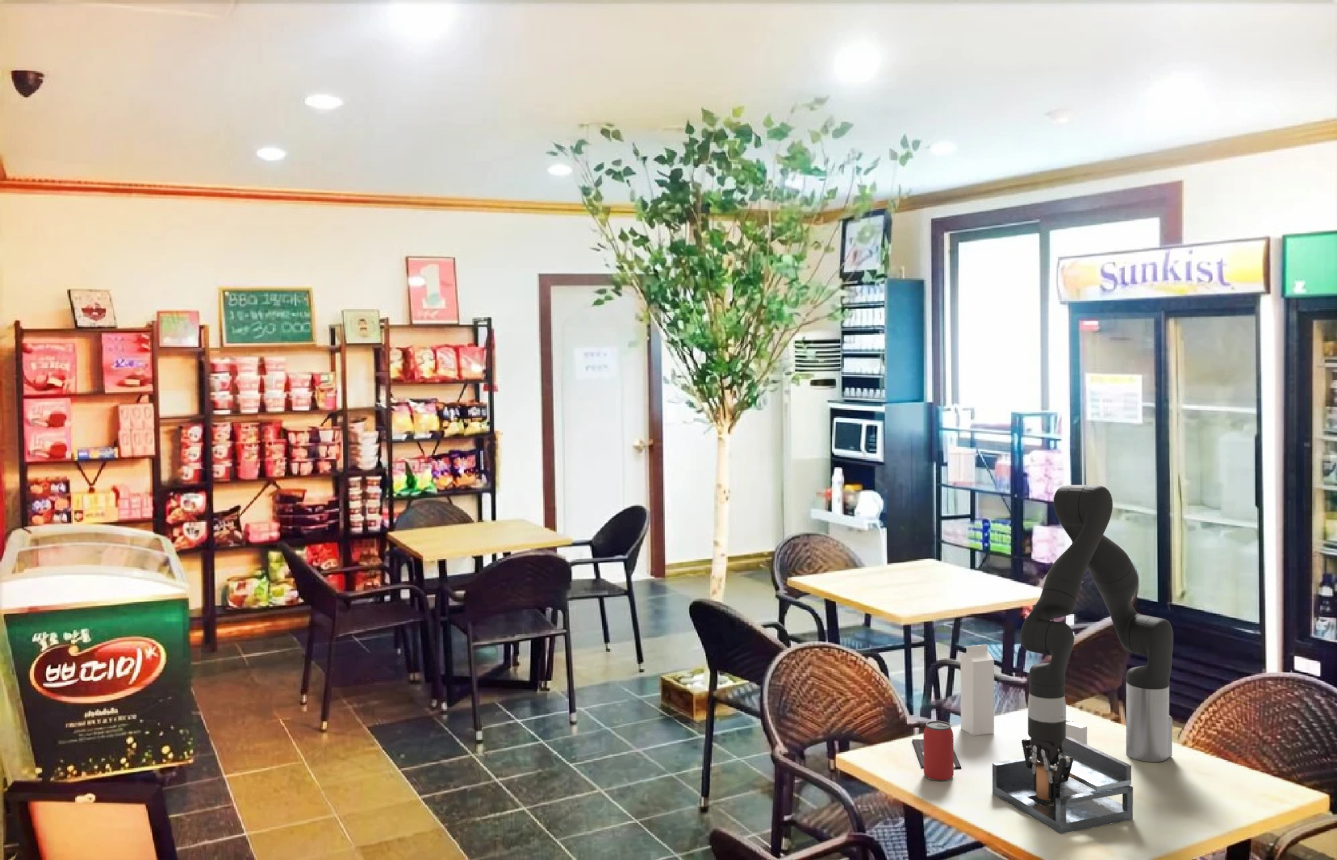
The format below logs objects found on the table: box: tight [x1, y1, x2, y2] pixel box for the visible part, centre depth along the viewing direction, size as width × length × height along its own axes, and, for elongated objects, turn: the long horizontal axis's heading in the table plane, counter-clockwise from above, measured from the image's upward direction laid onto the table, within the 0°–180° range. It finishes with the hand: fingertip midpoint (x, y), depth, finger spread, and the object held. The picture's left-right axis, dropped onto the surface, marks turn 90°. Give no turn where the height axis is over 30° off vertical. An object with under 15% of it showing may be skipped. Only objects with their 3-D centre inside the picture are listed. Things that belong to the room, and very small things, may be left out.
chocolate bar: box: [911, 738, 962, 770], centre depth 265 cm, size 9×1×18 cm
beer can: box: [923, 720, 955, 782], centre depth 251 cm, size 7×7×12 cm
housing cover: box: [1030, 735, 1132, 791], centre depth 234 cm, size 9×21×4 cm, turn 20°
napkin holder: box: [1066, 717, 1088, 745], centre depth 272 cm, size 15×11×6 cm
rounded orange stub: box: [1036, 765, 1056, 800], centre depth 232 cm, size 4×4×6 cm
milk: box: [960, 644, 995, 737], centre depth 280 cm, size 6×6×22 cm
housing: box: [991, 757, 1134, 835], centre depth 233 cm, size 18×22×7 cm
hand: (1046, 795), depth 232 cm, fingers closed on rounded orange stub, 4 cm apart
